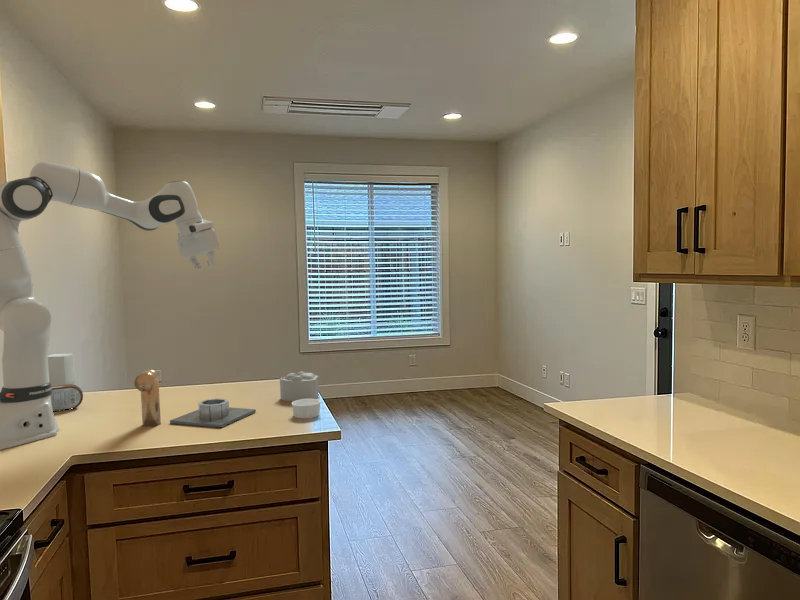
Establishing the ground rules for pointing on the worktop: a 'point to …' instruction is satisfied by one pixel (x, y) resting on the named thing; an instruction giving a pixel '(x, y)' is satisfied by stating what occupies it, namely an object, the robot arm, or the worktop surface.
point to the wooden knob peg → (149, 397)
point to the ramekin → (306, 408)
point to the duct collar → (213, 414)
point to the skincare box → (62, 369)
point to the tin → (66, 397)
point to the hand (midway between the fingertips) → (205, 267)
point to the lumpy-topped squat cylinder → (299, 386)
